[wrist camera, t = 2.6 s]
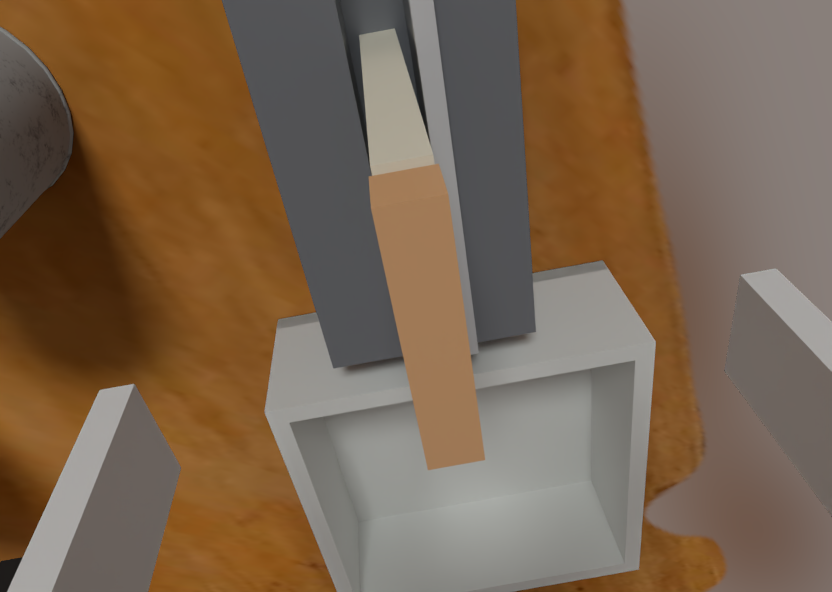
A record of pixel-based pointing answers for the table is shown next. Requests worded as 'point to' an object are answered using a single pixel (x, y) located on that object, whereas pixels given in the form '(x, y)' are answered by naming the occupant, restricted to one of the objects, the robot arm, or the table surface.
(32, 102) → the grey cylinder
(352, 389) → the bin
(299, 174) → the dispenser
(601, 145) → the table surface
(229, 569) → the table surface
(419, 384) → the cream flat board
